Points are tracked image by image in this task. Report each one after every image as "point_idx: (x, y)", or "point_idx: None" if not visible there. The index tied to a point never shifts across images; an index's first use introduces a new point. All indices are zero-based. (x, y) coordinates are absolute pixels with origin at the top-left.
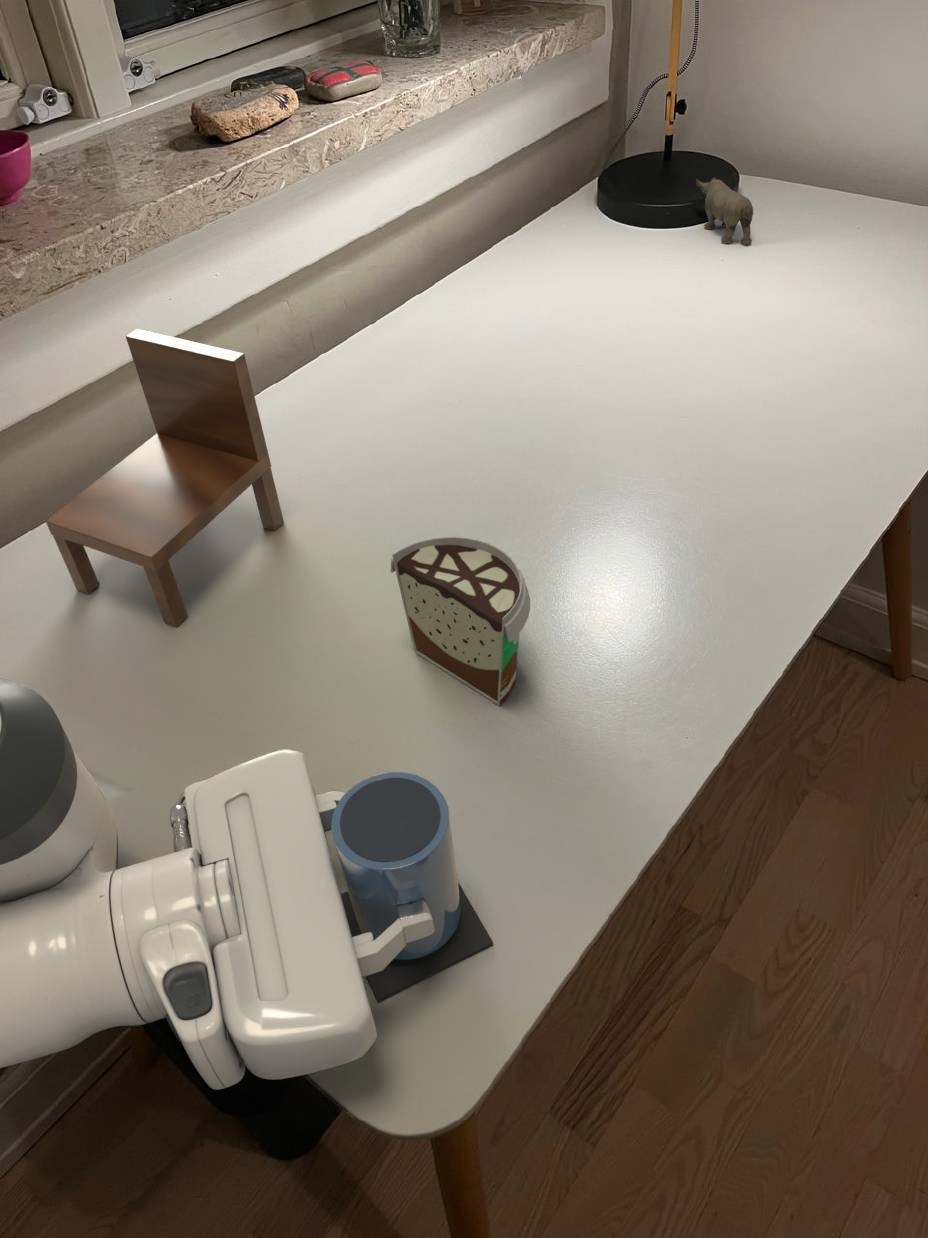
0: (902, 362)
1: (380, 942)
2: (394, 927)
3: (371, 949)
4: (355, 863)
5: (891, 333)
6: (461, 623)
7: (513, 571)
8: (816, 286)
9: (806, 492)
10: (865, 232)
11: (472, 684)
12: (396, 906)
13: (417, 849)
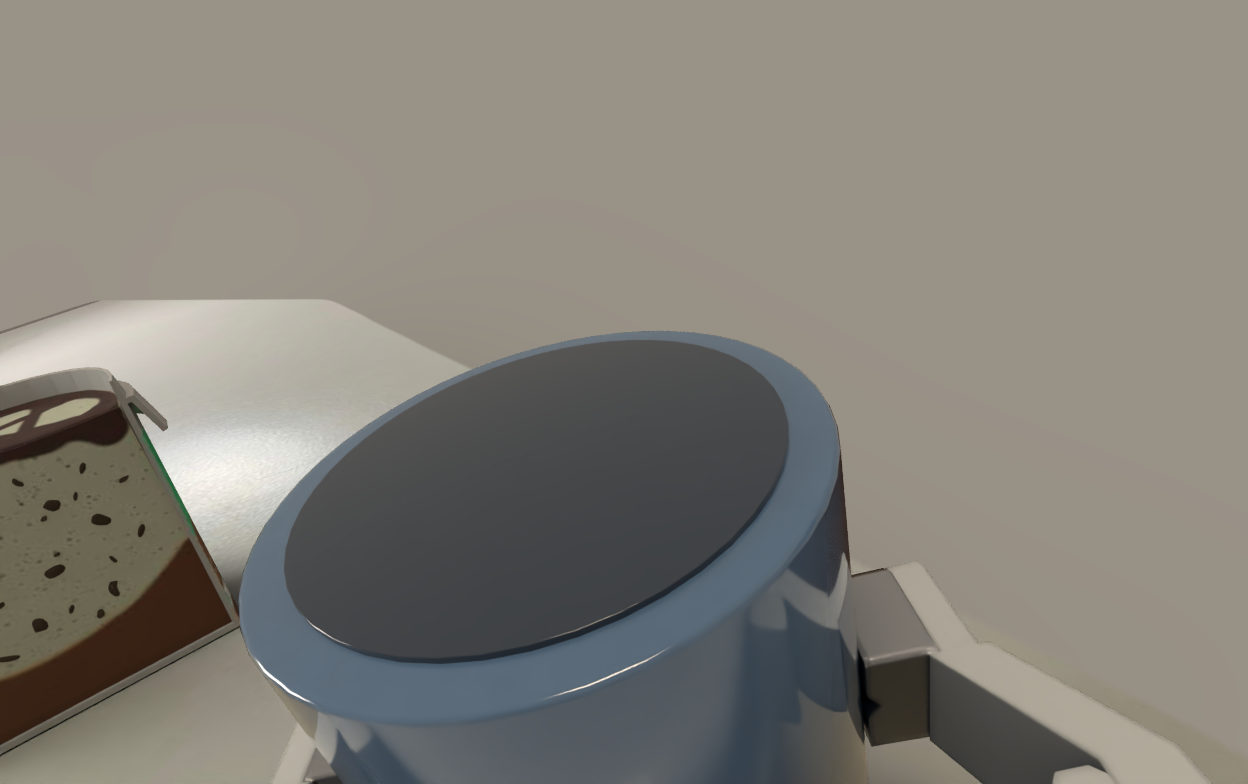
0: (221, 305)
1: (1100, 731)
2: (985, 671)
3: (1170, 779)
4: (782, 571)
5: (187, 309)
6: (9, 533)
7: (32, 400)
8: (79, 338)
9: (274, 343)
10: (77, 318)
11: (149, 660)
12: (866, 663)
13: (736, 363)
